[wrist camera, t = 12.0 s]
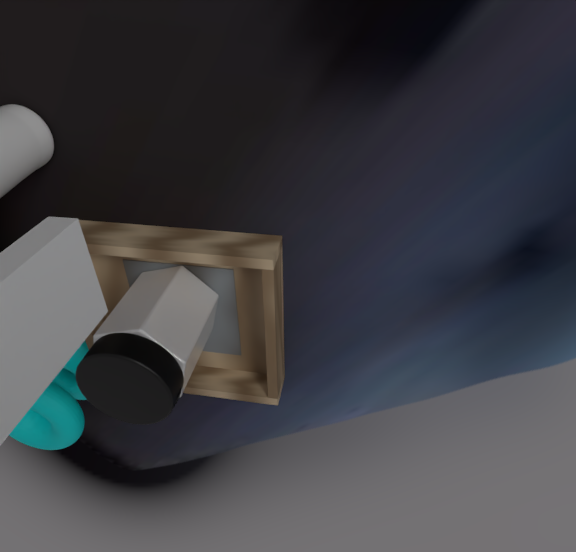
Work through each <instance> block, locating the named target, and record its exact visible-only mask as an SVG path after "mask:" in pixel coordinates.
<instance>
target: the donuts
mask: <svg viewBox="0 0 576 552" xmlns="http://www.w3.org/2000/svg"><path fill="white" fill-rule="evenodd" d="M88 351H89V349H88V347H87V344H86V341H84V342H83V343H82V345H81V346H80V347H79V348H78V349H77V351H76V352H75V353H74V354H73V356H72V357H71V358H70V359H69V361H68V362H67V363H66V364H65V366H64V367H63V368H62V369H61V371H60V372H59V373H58V374H57V376H56V377H55V378H54V379H53V381H52V382H51V383H50V384H49V386H48V387H47V388H46V389H45V391H44V392H43V393H42V394H41V396H40V397H39V398H38V399H37V401H36V402H35V403H34V404H33V406H32V407H31V408H30V409H29V411H28V412H27V413H26V414H25V416H24V417H23V418H22V419H21V421H20V422H19V423H18V424H17V425H16V427H15V428H14V429H13V430H12V432H11V433H10V434H9V436H11V437H12V438H14V439H16V440H17V441H19V442H22V443H24V444H26V445H29V446H32V447H35V448H39V449H45V450H58V449H62V448H66V447H68V446H70V445H72V444H73V443H74V442H76V441H77V440H78V439H79V437H80V436H81V434H82V432H83V429H84V423H85V420H84V414H83V411H82V409H81V407H80V405H79V403H78V402H77V401H76V399H78V400H87V399H86V398H85V397H84V395H83V394H82V393H81V391H80V389H79V387H78V385H77V382H76V369H77V366H78V364H79V363H80V361H81V360H82V359H83V357H84V356H85V355H86V353H87V352H88Z"/></svg>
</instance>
